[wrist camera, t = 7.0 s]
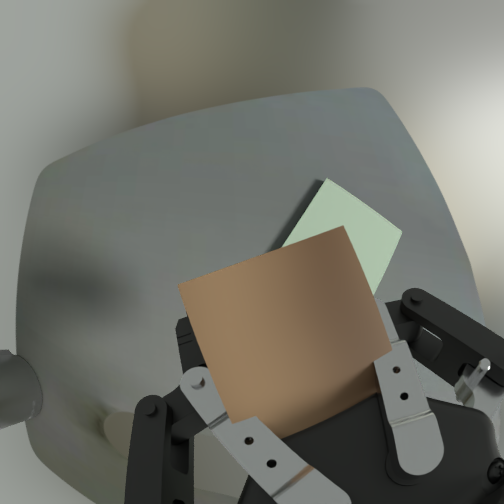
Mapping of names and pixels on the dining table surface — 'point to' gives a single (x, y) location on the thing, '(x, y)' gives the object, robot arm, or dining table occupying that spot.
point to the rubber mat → (350, 228)
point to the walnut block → (289, 332)
